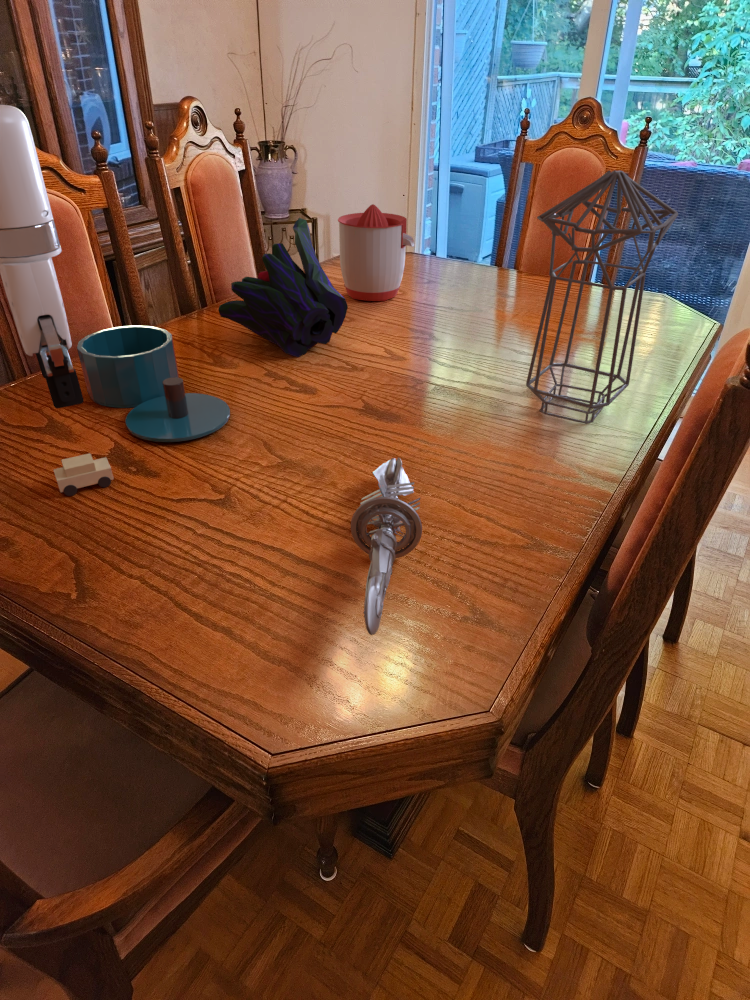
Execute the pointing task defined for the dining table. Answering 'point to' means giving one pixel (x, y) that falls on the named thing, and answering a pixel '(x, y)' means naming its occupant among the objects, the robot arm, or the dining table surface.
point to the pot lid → (177, 415)
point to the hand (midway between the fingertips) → (62, 389)
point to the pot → (127, 364)
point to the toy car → (82, 473)
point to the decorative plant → (289, 299)
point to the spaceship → (385, 534)
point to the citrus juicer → (373, 253)
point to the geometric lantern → (549, 219)
